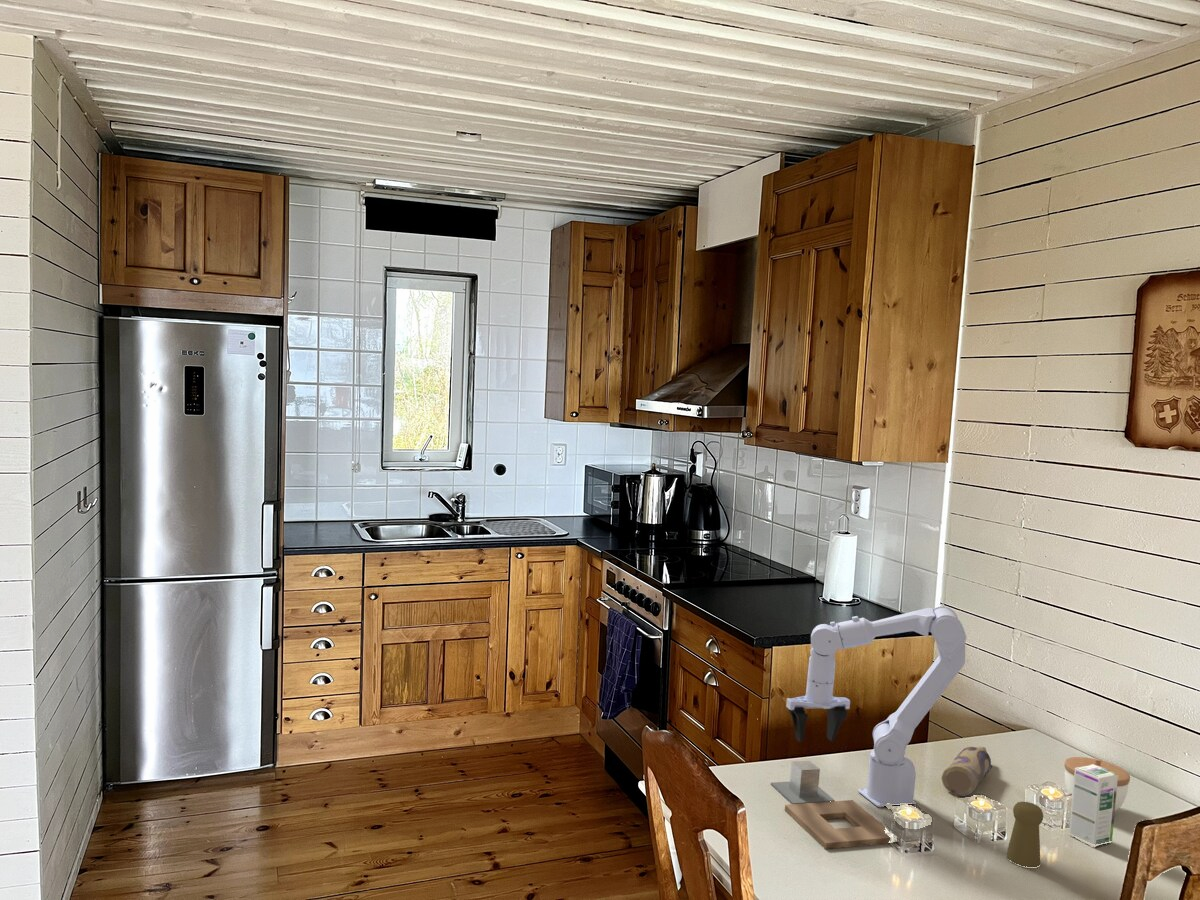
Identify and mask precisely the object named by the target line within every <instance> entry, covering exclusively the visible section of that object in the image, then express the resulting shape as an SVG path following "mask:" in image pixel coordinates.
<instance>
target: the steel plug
mask: <svg viewBox="0 0 1200 900" xmlns="http://www.w3.org/2000/svg"><path fill="white" fill-rule="evenodd" d="M820 772H821V770H820V768H819V767H818V766H817V765H816V764H815V763H813V762H812V761H811V760H797V761H791V765H790V777H789V782H790V786H789V789H790V790H792V791H793V792H794V793H795V794H796V795H797V796H798V797H814V796H818V787H819V786H820V785H819V784H820V774H821V773H820Z"/></svg>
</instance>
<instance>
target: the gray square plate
mask: <svg viewBox="0 0 1200 900" xmlns="http://www.w3.org/2000/svg"><path fill="white" fill-rule="evenodd" d="M770 785H771V786H772V788H774V789H775V790H776V791H777V792H778V793H779V794H780V795H781V796H782V797H784V798H785V799H786V800H787V801H788V802H789V803H790V804H803V803H817V802H830V801H831V802H832V801H836V800H835V799H834V798H833V797H832V796H830V794H828V793H827V792H826V791H825V790H823V789H822V788H821V787H820V786H818V796H814V797H798V796H797V795H796V794H795V793H794V792H793V791H792V790H790V789H789V786H790V781H775V782H770Z"/></svg>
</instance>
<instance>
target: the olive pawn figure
mask: <svg viewBox="0 0 1200 900" xmlns="http://www.w3.org/2000/svg"><path fill="white" fill-rule="evenodd" d="M1012 813H1013V817H1014V819H1015V820H1014V824H1013V828H1012V831H1011V835H1010V839H1009V843H1008V845H1007V852H1006V855H1007V858H1008V859H1009V860H1011V861H1012V862H1014V863H1016V864H1019V865H1021V866H1025V867H1026V866H1027V867H1037V866H1039V865H1040V864H1041V842H1040V841H1041V840H1040V839H1041V838H1040V825H1041V824H1042V822H1043V821H1044V812H1043V810H1042V808H1041V807H1040V806H1039V805H1037V804H1034V803H1032V802H1029V801H1019V802H1018V801H1017V803H1015V805H1014V806H1013V809H1012ZM1006 855H1005V856H1006ZM1007 858H1006V859H1007ZM1008 859H1007V860H1008ZM1009 860H1008V861H1009Z"/></svg>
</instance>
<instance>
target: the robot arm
mask: <svg viewBox="0 0 1200 900" xmlns="http://www.w3.org/2000/svg"><path fill="white" fill-rule="evenodd" d="M907 632H909V633H910V632H915V633H916V634H919V635H921V636H924V637H926V638H929V633H931V635H932V637H933V639H934V641H935V642H936V643H935V644H936V647H937V651H938V656H937V657H936V658H935V660H934V662H932V664H931V665H930V667H929V668H928V669H927V671H926V672H925V674H923V675H922V677H921V678H920V680H919V681H918V682H917V684H916V685H915V686H914V687H913V689H912V690H911V691H910V693H909V694H908V695H907V697H906V698H905V699H904V700H903V702H902V703H901V704H900V705H899V707H898V708H897V710H896V711H895V712H893V713H891V714H889V715H888V717H887V718H886V719H885V720H883V721H881V722H879V723H878V724H876V725H875V726H874V727H873V730H872V739H873V744H874V745H873V749H872V750H871V751H870V753H869V759H868V761H869V762H868V769H867V770H868V771H867V779H866V780H867V783H866V788H858V789H857V791H858V793H859V794H860V795H862V796H863V797H864V798H866V799H867V800H868V801H869V802H870V803H872V804H873V805H875V806H876V807H878V808H885V807H884V806H885V805H886V804H887V803H890V804H900V803H912V804H915V805H916V801H914V797H915V788H916V787H915V786H916V776H917V773H916V768H915V765H914V763H913V762H912V760H911V759H910V758H909V757H907V756H906V757H905V754H906V748H907V746H908V745H909V743H910V742H911V740H912V737H913V734H914V732H915V730H916V728H917V727H918V726H919V724H920V723H921V722H922V720H923V719H924V718H925V716H926V715H927V714H928V712H930V710H931V709H932V707H933V706H934V705H935V703H936V702H937V701H938V700H939V698H940V697H941V696H942V694H943V693H944V692H945V691H946V689H947V688H948V687H949V685H950V684H951V683H952V682H953V680H954V679H955V678H956V677H957V675H958V674H959V672H960V671H961V670H962V669H963V667H964V665H965V663H966V641H967V635H966V632H965V628H964V627H963V624H962V623H961V621H960V619H959V618H958V615H957V613H956V612H955V611H954V610H953V609H951V608H950V607H948V606H943V605H942V606H937V607H934V608H932V607H924V608H921V609H917V610H914V611H909V612H906V613H901V614H897V615H893V616H889V617H886V618H881V619H877V620H874V621H870V620H869V619H867V618H866V617H859V616H858V615H856V616H852V617H851V619H850V620H845V621H841V622H839V621H838V622H835V621H830V623H829V624H827V623H822V624H821V623H819V624H818V625H816V626H815V627H814V628H813V629H812V631H811V634H810V644H811V648H810V651H809V652H810V653H809V654H810V656H809V658H808V668H807V679H806V691H805V695H802V696H797V697H791V698H788V697H787V698H786V704H785V707H786V708H787V710H788V712H789V714H790V718H791V720H792V723H793V727H794V733H795V735H794V736H795V739H796V741H798V743H804V739H805V738H804V737H805V731H806V730H805V729H806V725H807V721H808V718H809V714H808V713H806V710H805V709H807V710H808V709H824V710H826V714H827V716H826V717H827V723H826V724H827V727H826V738H827V739H828V741H830V742H835V740H836V736H837V733H838V732H839V729H840V727H841V725H842V724H843V722H844V721H845V720H846V718H847V717H848V710H849V709H850V706H851V700H850V699H849V698H847V696H846V697H844V696H843V697H839V696H834V695H833V694H834V683H835V674H836V652H837V651H838V650H848V649H852V648H857V647H861V646H865V645H871V644H872V643H873V641H874V639H875V638H876V637H882V636H883V637H884V636H890V635H895V634H901V633H907Z"/></svg>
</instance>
